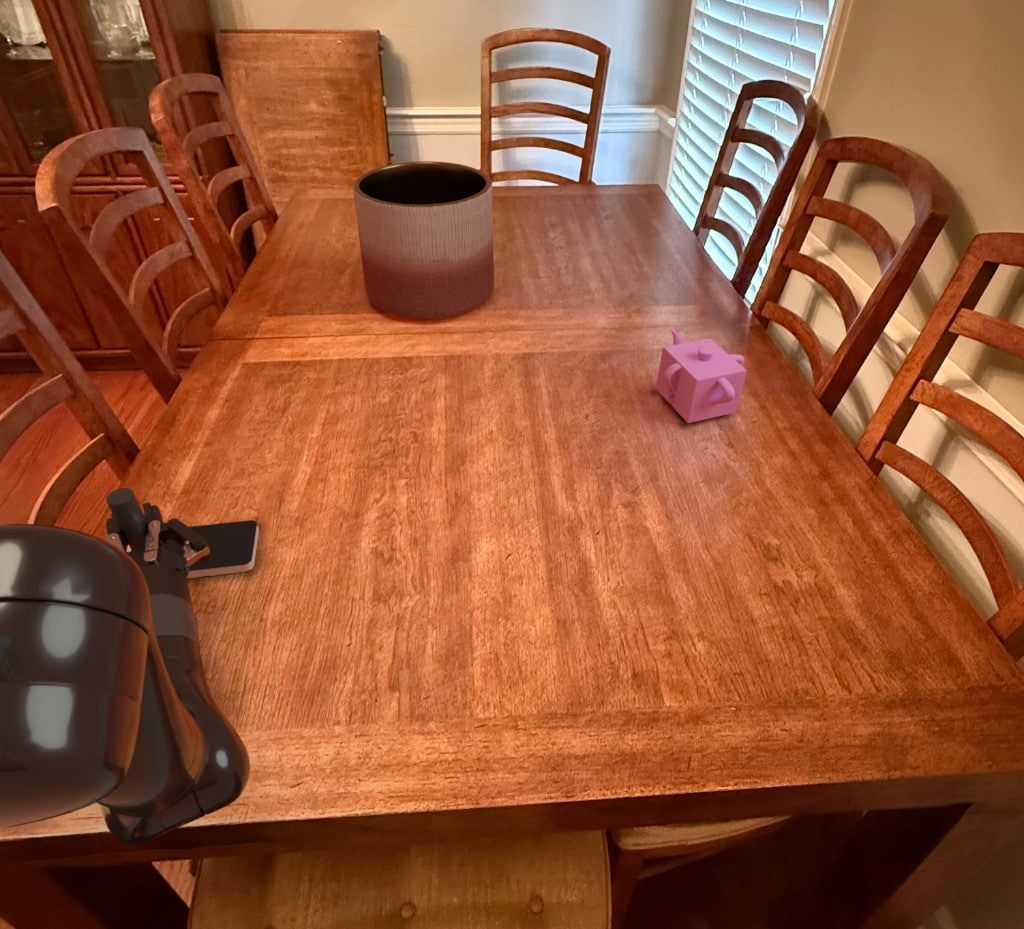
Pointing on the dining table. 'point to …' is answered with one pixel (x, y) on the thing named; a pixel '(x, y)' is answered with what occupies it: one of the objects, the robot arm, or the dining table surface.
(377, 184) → the planter
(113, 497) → the dark grey cylinder
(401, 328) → the dining table surface
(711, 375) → the teapot
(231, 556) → the smartphone
